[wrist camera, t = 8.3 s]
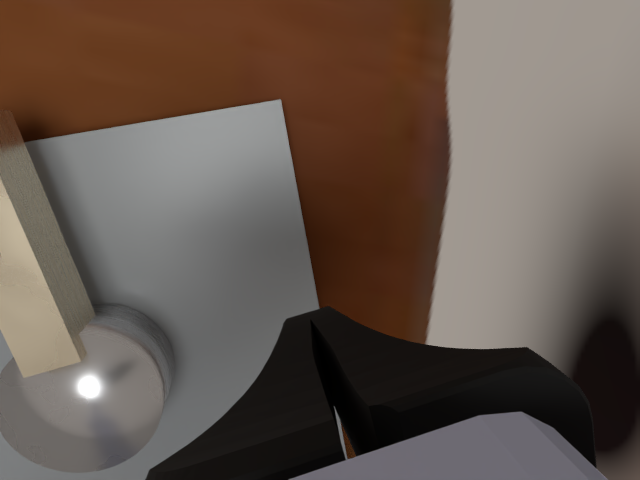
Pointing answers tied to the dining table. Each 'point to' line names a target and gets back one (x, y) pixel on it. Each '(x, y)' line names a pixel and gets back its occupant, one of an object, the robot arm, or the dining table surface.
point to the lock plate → (183, 254)
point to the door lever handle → (67, 340)
